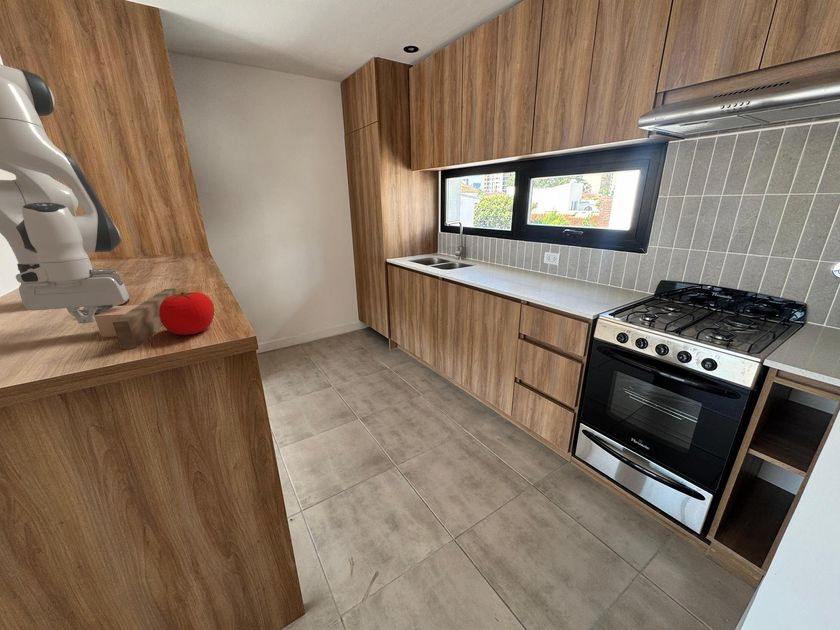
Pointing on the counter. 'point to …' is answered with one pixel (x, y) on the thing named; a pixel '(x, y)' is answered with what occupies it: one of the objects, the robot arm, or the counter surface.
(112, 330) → the terracotta block
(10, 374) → the counter surface
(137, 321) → the walnut board
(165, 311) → the tomato
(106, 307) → the packaged food
